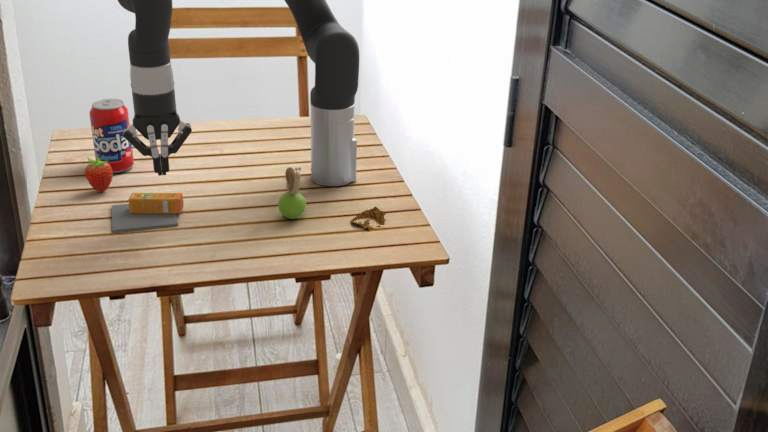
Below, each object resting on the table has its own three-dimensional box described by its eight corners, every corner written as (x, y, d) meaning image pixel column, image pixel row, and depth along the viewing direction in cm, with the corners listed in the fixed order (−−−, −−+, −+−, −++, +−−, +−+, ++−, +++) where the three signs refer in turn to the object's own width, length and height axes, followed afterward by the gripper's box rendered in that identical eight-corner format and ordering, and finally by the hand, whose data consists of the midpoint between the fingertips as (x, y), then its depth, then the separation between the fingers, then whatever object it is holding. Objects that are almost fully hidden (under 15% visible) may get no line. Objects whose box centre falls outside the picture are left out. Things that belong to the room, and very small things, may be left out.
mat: (173, 201, 169) (173, 199, 169) (178, 225, 160) (177, 223, 160) (112, 207, 166) (111, 205, 166) (112, 232, 157) (112, 230, 156)
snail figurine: (286, 227, 160) (284, 170, 155) (274, 214, 166) (272, 158, 160) (312, 222, 163) (311, 165, 157) (300, 209, 168) (299, 153, 162)
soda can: (133, 159, 188) (125, 96, 181) (135, 173, 181) (128, 107, 174) (96, 163, 186) (87, 98, 179) (97, 177, 179) (88, 110, 172)
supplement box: (179, 197, 162) (127, 199, 161) (181, 213, 163) (129, 215, 163) (182, 190, 165) (130, 192, 164) (184, 206, 166) (133, 208, 166)
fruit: (116, 186, 175) (111, 151, 171) (113, 196, 170) (108, 160, 167) (89, 187, 174) (84, 152, 171) (86, 198, 170) (80, 161, 166)
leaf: (344, 222, 164) (344, 215, 163) (371, 209, 168) (371, 202, 167) (366, 237, 160) (366, 230, 159) (392, 224, 164) (393, 217, 163)
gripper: (188, 78, 157) (195, 163, 165) (114, 82, 153) (125, 169, 161) (192, 90, 150) (199, 178, 158) (115, 95, 147) (126, 185, 155)
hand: (161, 173), depth 160 cm, fingers closed
